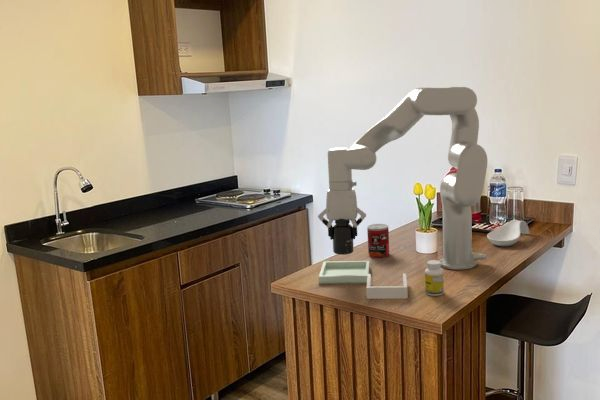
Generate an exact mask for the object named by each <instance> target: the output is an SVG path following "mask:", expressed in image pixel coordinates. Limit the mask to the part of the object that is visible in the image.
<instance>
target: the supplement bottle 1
mask: <svg viewBox="0 0 600 400" xmlns="http://www.w3.org/2000/svg"><path fill="white" fill-rule="evenodd" d="M350 222H351V220H345V219H339V220H334V223H335V224H334V225H332V226H333V228H332V232H333V239H332V251H333V253H334V254H336V255H340V256H341V255H345V256H346V255H350V254H352V253H354V239H353V231H352V227H353V225H351V224H350Z"/></svg>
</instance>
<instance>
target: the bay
mask: <svg viewBox="0 0 600 400" xmlns="http://www.w3.org/2000/svg"><path fill="white" fill-rule="evenodd" d="M365 287H366V299H367V300H373V299H374V300H375V299H376V300H377V299H379V300H381V299H382V300H383V299H385V300H387V299H388V300H389V299H392V300H393V299H395V300H396V299H397V300H398V299H400V300H401V299H406V300H407V299H408V298H409V296H408V280H407V273H404V272H403V273H402V285H398V286H397V285H393V286H392V285H386V286H384V285H383V286H382V285H380V286H375V285H374V286H372V274H371V273H369V274H368V277H367V283H366V286H365Z"/></svg>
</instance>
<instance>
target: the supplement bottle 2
mask: <svg viewBox="0 0 600 400" xmlns="http://www.w3.org/2000/svg"><path fill="white" fill-rule="evenodd" d="M426 267H427V268H425V270H424V283H425V284H424V285H425V286H424V287H425V288H424V289H425V294H427V295H428V296H431V297H436V296H442V295H444V291H445V289H444V288H445V287H444V284H445V283H444V270H443V269H442V268H441V262H440V261H439V260H437V259H430V260H428V261H426Z"/></svg>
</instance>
